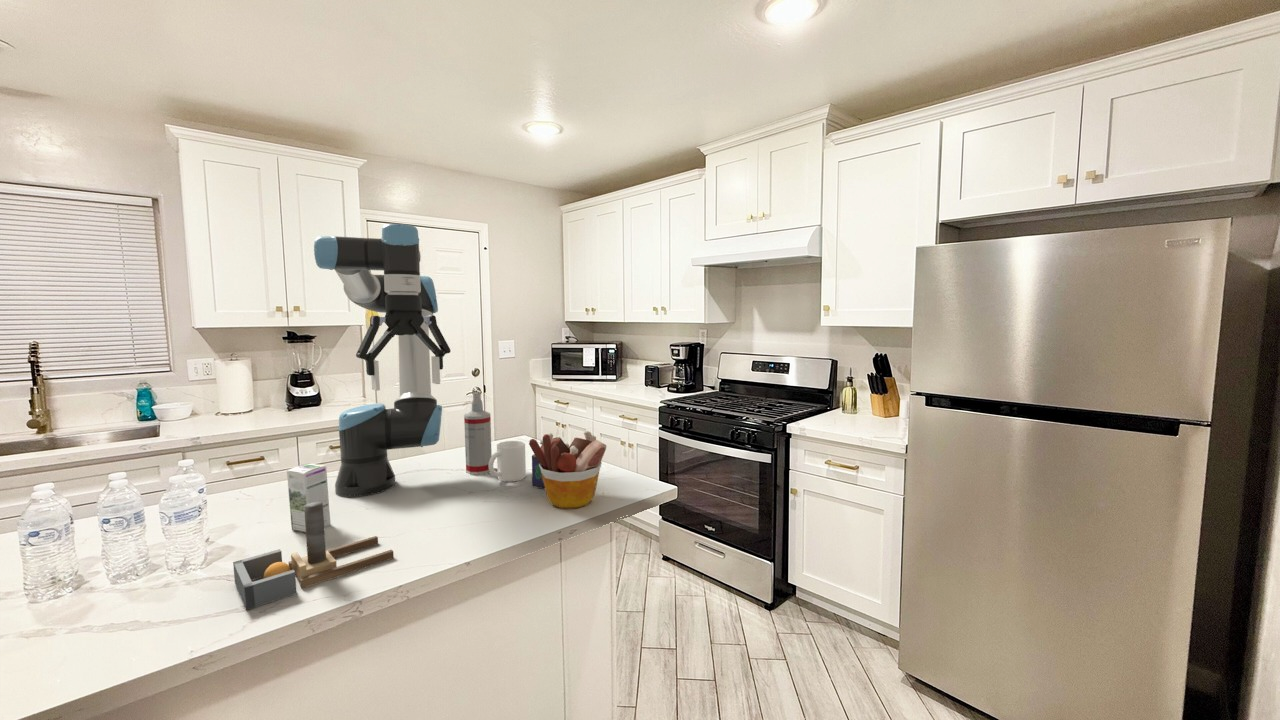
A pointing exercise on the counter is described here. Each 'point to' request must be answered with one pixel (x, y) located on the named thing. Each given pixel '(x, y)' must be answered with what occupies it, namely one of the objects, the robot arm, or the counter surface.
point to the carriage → (313, 545)
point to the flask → (536, 474)
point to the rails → (350, 566)
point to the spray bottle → (477, 438)
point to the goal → (262, 580)
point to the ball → (276, 569)
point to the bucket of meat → (569, 468)
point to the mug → (509, 461)
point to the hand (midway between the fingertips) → (407, 386)
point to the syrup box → (307, 492)
